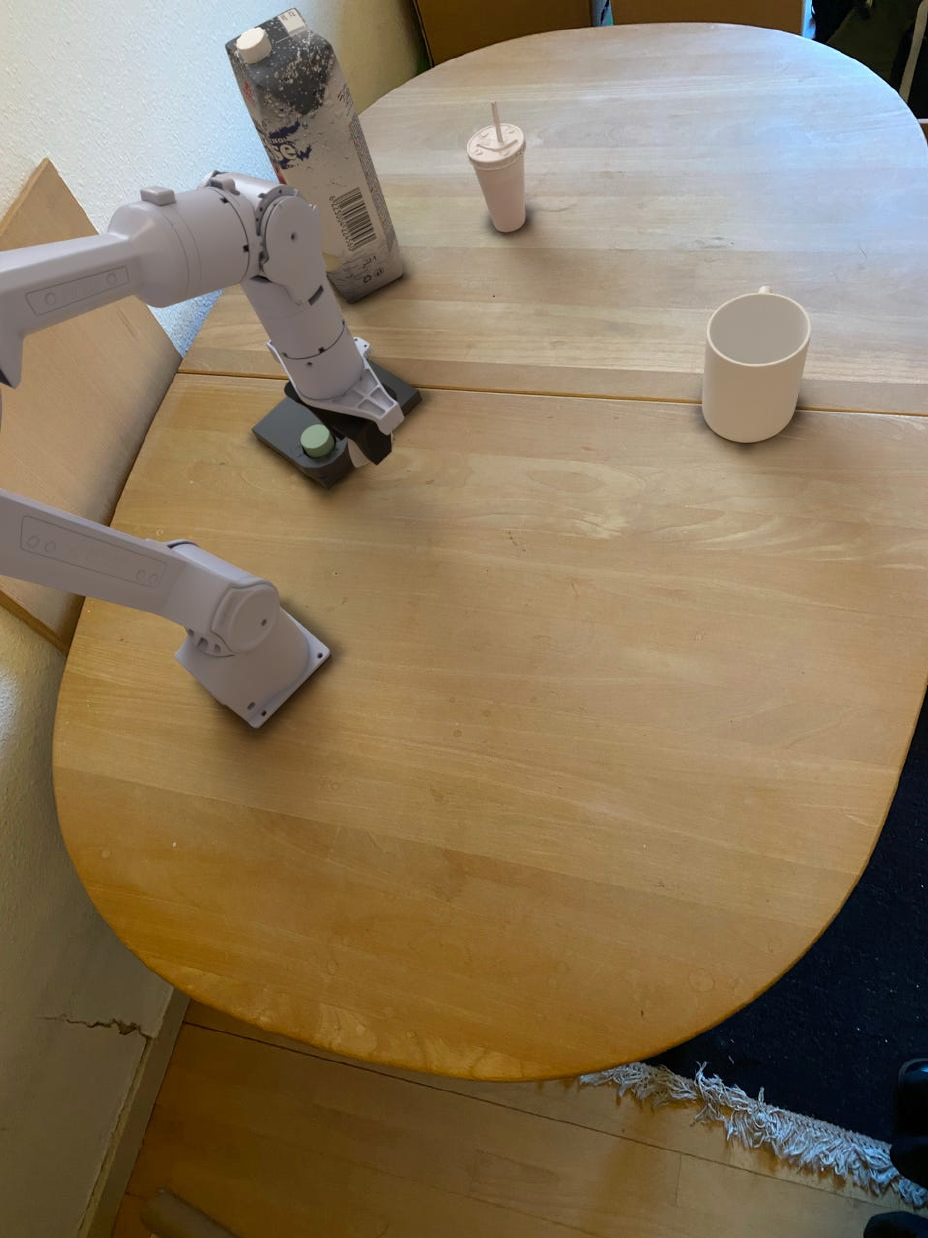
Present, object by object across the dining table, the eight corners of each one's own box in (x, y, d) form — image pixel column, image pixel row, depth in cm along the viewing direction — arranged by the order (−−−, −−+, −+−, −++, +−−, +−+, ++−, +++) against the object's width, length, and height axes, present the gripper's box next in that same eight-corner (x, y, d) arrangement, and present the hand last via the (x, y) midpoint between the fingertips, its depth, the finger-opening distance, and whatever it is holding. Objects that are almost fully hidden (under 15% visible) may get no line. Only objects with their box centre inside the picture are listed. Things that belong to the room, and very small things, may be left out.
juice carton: (377, 230, 101) (291, -19, 77) (414, 276, 96) (335, 25, 72) (312, 265, 100) (207, 25, 77) (347, 314, 95) (245, 73, 72)
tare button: (319, 463, 82) (313, 453, 81) (300, 449, 84) (294, 439, 82) (340, 442, 83) (335, 432, 82) (321, 429, 84) (315, 419, 83)
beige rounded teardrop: (403, 436, 76) (396, 418, 74) (381, 480, 74) (373, 463, 72) (362, 428, 77) (354, 410, 75) (340, 471, 75) (330, 454, 73)
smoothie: (532, 239, 94) (513, 119, 82) (477, 241, 96) (451, 124, 84) (541, 200, 97) (523, 78, 85) (487, 203, 99) (463, 84, 86)
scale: (327, 495, 84) (316, 477, 81) (253, 440, 89) (241, 421, 87) (425, 400, 87) (418, 380, 84) (347, 353, 92) (338, 332, 90)
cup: (694, 441, 77) (699, 363, 69) (713, 344, 82) (720, 259, 73) (789, 449, 75) (806, 369, 66) (803, 348, 80) (821, 261, 71)
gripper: (410, 334, 60) (451, 451, 72) (287, 263, 67) (344, 381, 78) (341, 398, 59) (395, 506, 71) (223, 319, 65) (290, 430, 77)
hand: (364, 444), depth 74 cm, fingers closed on beige rounded teardrop, 4 cm apart
